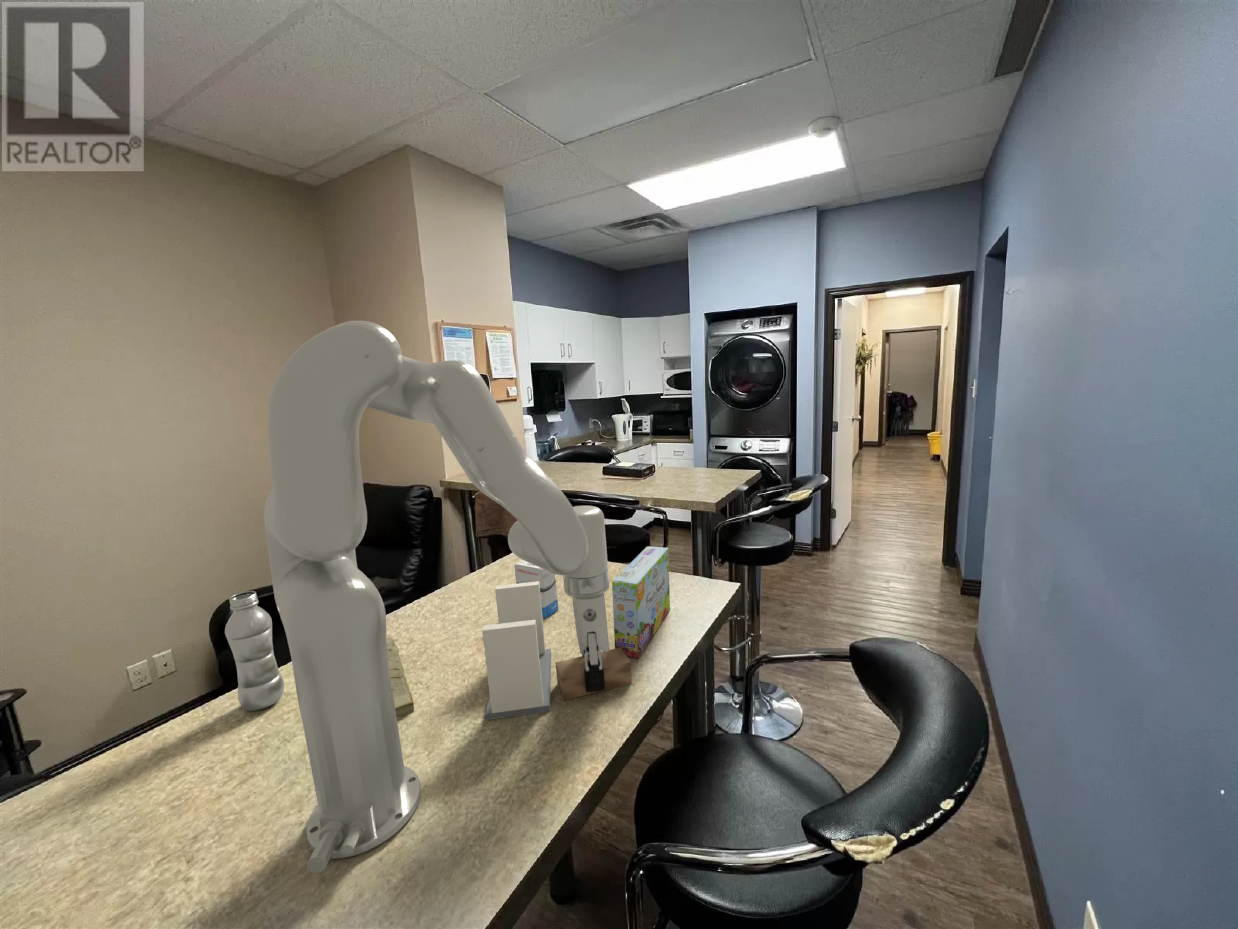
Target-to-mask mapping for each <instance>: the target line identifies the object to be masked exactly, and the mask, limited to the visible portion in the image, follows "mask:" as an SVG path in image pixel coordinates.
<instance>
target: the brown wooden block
mask: <svg viewBox="0 0 1238 929" xmlns="http://www.w3.org/2000/svg"><path fill="white" fill-rule="evenodd" d="M597 657H598V654H597ZM601 659H602V666H603V668H604V680H605V689H604V690H602V691H606V690H609V689H614V688H617V687H622V686H626V685H630V684H632V668H631V661H630V659H629V656H626V654H625V653H624V651H623V650H622V648H616V649H615V648H613V649H609V651H608V652H607V653H606V652H602V651H601ZM589 661H590V656H588V662H589ZM584 669H586V667H585V656H583V655H582V656H578V657H574V658H569V659H565V660H561V661H556V662H555V670H556V682H557V686H558V687H557V688H558V689H559V693H560V696H561V697H562V698H561V700H562V701H567V700H572V699H575V698H578V697H582V696H587V695H590V694H595V693H599V692H600V691H595V692H586V686H585V674H584ZM602 691H601V692H602Z"/></svg>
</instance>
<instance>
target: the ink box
mask: <svg viewBox="0 0 1238 929" xmlns="http://www.w3.org/2000/svg"><path fill="white" fill-rule="evenodd" d="M513 566H514V575H515V584H518V583H528V582H537V581H539V586H540V596H541V607H542V618H544V619H547V618H548V617H550V616H551V615H552V614H554V613H555V612H557V611H559V602H558V591H557V581H556V579H557V578H556V574H554V573H551V572H549V571H547V570H545V569H543V568H540V567H538V566H536V565H533V564H531V563H528V562H526V561H524V560H521V561H518V562H516V563H515V564H514V565H513Z"/></svg>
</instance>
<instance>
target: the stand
mask: <svg viewBox="0 0 1238 929" xmlns="http://www.w3.org/2000/svg"><path fill="white" fill-rule="evenodd" d="M494 592H495V600H496V611H497V619H498V623H495V624H486V625H483V627H482V639H483V648H484V658H485V666H486V672H487V683H488V691H489V696H488V700H487V705H486V709H485V720H486V721H489V720H496V719H500V718H501V719H502V718H503V719H504V718H509V717H517V716H522V715H523V716H524V715H531V714H538V713H544V712H545V713H546V712H551V678H552V677H551V673H552V672H551V670H552V667H551V666H552V650H551V648H546V642H545V640H546V639H545V631H544V630H545V629H544V620H543V617H542V607H541V596H540V586H539V581H537V582H528V583H518V584H516V583H511V584H504V585H503V584H500V585H495V591H494Z"/></svg>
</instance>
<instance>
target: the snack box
mask: <svg viewBox="0 0 1238 929" xmlns="http://www.w3.org/2000/svg"><path fill="white" fill-rule="evenodd" d="M669 551H670V550H669V547H661V546H659V547H658V546H651V545H650V546H645V548H644V549H642V551H641V552H640V553H639V554H638V555H636V557H635V558H634V559H633V560H632V561H631V562H630V563H629V564H628V565H627V566H626V567H625V568H624V569H623V570H622V571H621V572H620V573H619V574H618V575H617V576H616V577H614V579H613V580H612V581H611V588H612V590H611V591H612V610H613V611H612V612H613V616H612V617H613V633H614V634H613V635H614V637H613V638H614V649H616V648H622V650H623V651H624V653H625V654H626V656H627V657H628V658H635V659H640V657H641V656H642V654H643V653H644V651H645V649H646V648H647V646H648V644H649V643H650V641H651V640H652V638H653V637H654V635H655V633H656V632H657V631H658V629H659V628H660V626H661V625H662V623H663V621H664V620H665V619H666V617H667V615H668V614H669V613H670V611H671V600H670V561H669V560H670V557H669V553H670V552H669Z"/></svg>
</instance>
